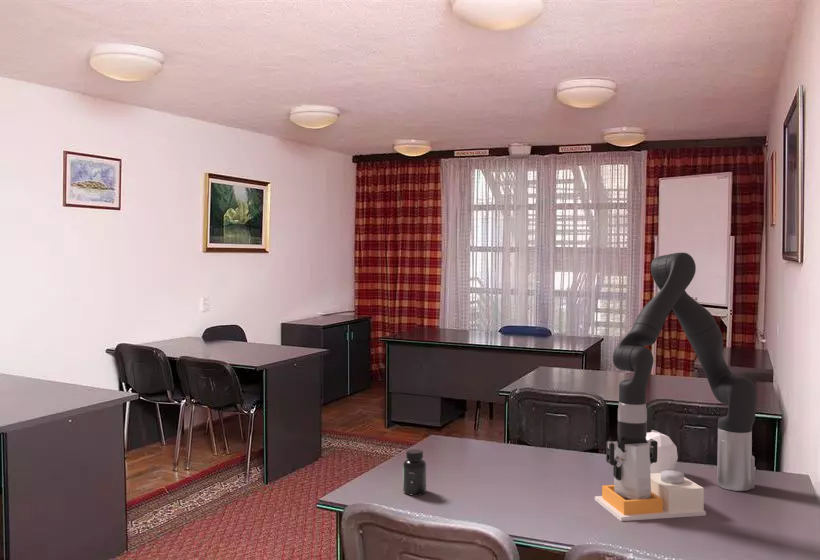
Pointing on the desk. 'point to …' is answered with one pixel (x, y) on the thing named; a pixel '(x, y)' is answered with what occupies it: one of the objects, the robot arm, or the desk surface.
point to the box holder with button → (657, 499)
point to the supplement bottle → (414, 473)
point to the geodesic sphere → (663, 452)
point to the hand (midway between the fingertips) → (631, 478)
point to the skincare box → (634, 472)
